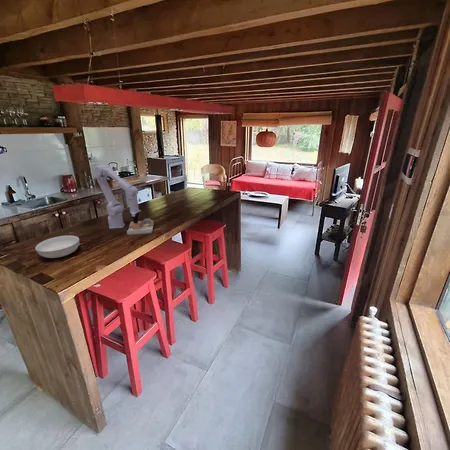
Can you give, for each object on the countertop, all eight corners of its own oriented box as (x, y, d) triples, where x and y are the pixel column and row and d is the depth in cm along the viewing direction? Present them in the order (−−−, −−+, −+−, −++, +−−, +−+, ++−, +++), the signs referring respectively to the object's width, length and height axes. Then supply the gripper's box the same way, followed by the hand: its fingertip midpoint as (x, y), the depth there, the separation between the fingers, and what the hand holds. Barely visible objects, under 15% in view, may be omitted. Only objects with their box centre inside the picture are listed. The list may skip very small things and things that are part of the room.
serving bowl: (35, 253, 144) (31, 242, 142) (75, 242, 158) (73, 232, 155) (43, 266, 130) (39, 254, 128) (86, 253, 144) (84, 242, 142)
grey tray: (127, 234, 169) (126, 230, 168) (129, 230, 177) (128, 226, 176) (152, 233, 172) (151, 228, 171) (152, 228, 180) (152, 224, 179)
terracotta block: (133, 229, 176) (132, 231, 174) (132, 223, 175) (131, 224, 172) (140, 229, 177) (139, 230, 175) (139, 223, 176) (138, 224, 173)
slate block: (143, 224, 181) (143, 220, 180) (144, 222, 185) (144, 218, 184) (150, 223, 182) (149, 220, 181) (150, 221, 186) (150, 218, 185)
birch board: (129, 229, 177) (129, 226, 177) (131, 224, 187) (131, 221, 186) (153, 228, 180) (152, 224, 179) (153, 223, 190) (153, 220, 189)
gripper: (138, 207, 167) (141, 226, 172) (140, 201, 180) (143, 219, 185) (127, 207, 166) (130, 227, 171) (130, 202, 179) (133, 220, 184)
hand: (136, 223), depth 178 cm, fingers closed
